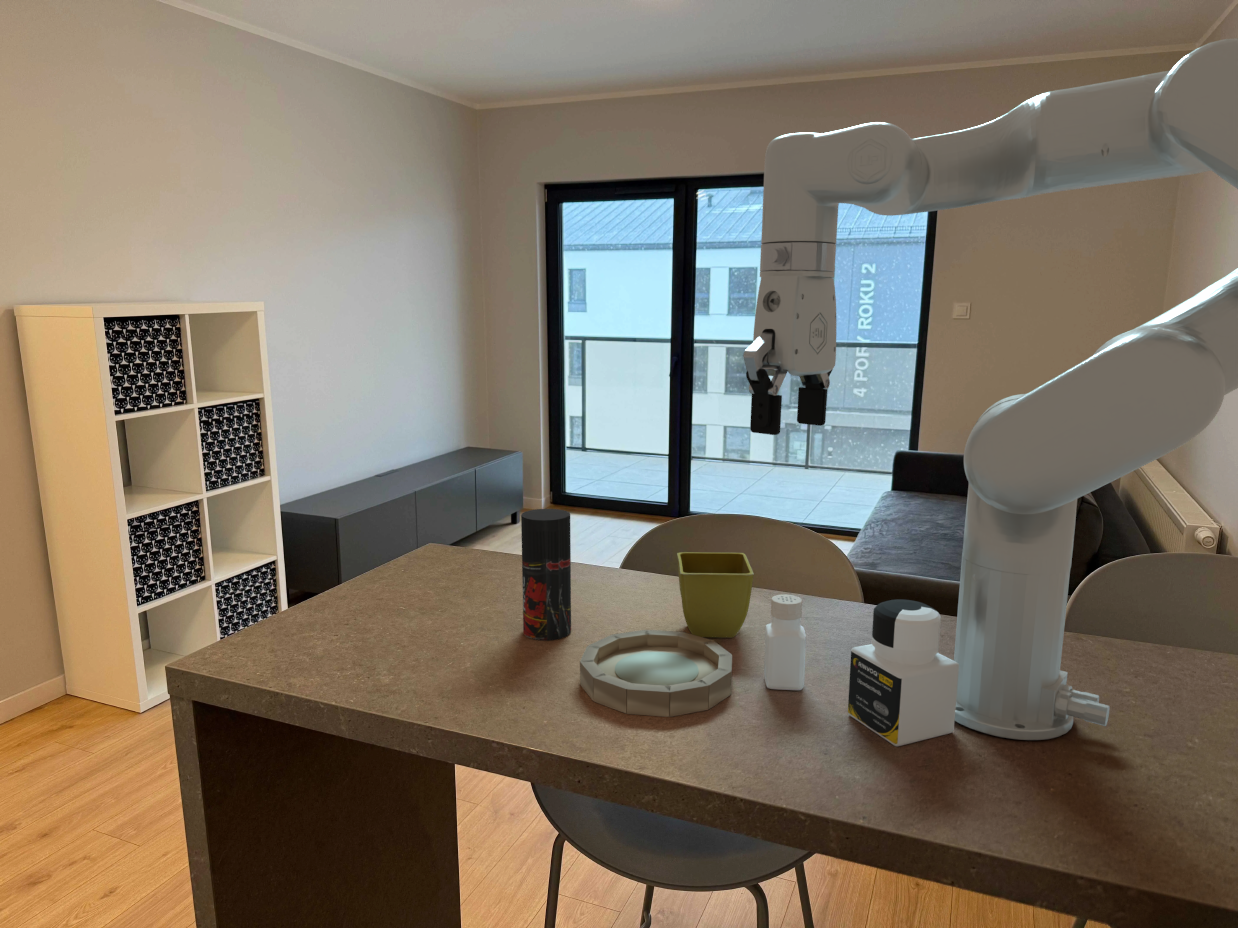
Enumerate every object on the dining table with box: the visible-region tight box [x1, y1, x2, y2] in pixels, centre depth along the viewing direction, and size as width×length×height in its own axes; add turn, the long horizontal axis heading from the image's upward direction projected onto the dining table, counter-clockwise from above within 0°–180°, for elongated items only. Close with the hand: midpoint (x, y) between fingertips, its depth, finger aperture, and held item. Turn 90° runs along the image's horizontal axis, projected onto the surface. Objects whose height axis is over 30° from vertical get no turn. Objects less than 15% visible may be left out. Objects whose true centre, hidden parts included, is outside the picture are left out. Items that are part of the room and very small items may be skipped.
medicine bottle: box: [847, 598, 959, 747], centre depth 80 cm, size 7×7×12 cm
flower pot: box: [676, 551, 755, 639], centre depth 104 cm, size 9×9×9 cm
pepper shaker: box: [763, 593, 807, 691], centre depth 89 cm, size 4×4×10 cm
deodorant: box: [520, 508, 572, 642], centre depth 103 cm, size 6×6×15 cm
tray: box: [579, 629, 733, 718], centre depth 90 cm, size 16×16×3 cm
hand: (788, 428), depth 89 cm, fingers open, 9 cm apart
